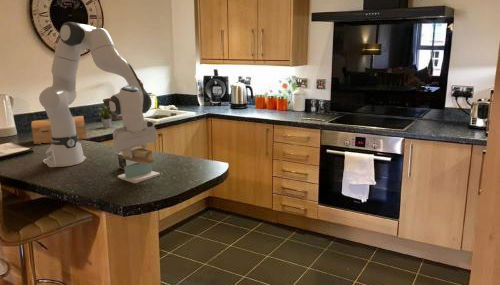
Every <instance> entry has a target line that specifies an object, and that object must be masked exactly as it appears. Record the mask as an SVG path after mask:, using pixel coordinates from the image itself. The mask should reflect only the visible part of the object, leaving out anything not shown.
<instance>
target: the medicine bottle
mask: <svg viewBox="0 0 500 285" xmlns="http://www.w3.org/2000/svg"><path fill="white" fill-rule="evenodd" d="M117 159H118V167H119V168H120V169H121V170H122V169H123V171H125V169H124V166H128V165H131V164H135V163H138V162H134V161H130V160H126V159H123V151H122V150H121V151H120V152H118V153H117Z"/></svg>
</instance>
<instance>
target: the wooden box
mask: <svg viewBox="0 0 500 285" xmlns="http://www.w3.org/2000/svg"><path fill="white" fill-rule="evenodd" d="M72 117H73V118H74V121H75V128H76V134H77V135H78V141H81V140H87V133H86V124H85V118H84V115H78V116H77V115H76V116H72ZM30 125H31V134H32V139H33V140H32V141H33V144H39V143H49V144H51V137H52V132H51V126H50V121H49V118H47V119H40V120H39V119H38V120H32V121H31V123H30Z"/></svg>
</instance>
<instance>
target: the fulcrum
mask: <svg viewBox="0 0 500 285" xmlns="http://www.w3.org/2000/svg"><path fill="white" fill-rule="evenodd" d="M124 169H125V170H124ZM124 169H123V170H124V173H122V174H119V175H117V179H121V180H123V181H126V182H129V183H132V184H138V183H140V182H144V181H147V180H150V179H153V178H156V177H159V176H161V173H160V172H157V171H153V169H152V163H148V164H142V163H135V164H131V165H128V166H124Z"/></svg>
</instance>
